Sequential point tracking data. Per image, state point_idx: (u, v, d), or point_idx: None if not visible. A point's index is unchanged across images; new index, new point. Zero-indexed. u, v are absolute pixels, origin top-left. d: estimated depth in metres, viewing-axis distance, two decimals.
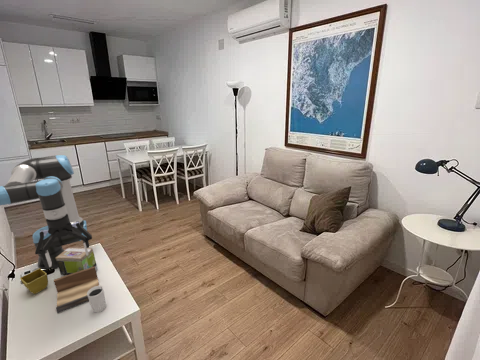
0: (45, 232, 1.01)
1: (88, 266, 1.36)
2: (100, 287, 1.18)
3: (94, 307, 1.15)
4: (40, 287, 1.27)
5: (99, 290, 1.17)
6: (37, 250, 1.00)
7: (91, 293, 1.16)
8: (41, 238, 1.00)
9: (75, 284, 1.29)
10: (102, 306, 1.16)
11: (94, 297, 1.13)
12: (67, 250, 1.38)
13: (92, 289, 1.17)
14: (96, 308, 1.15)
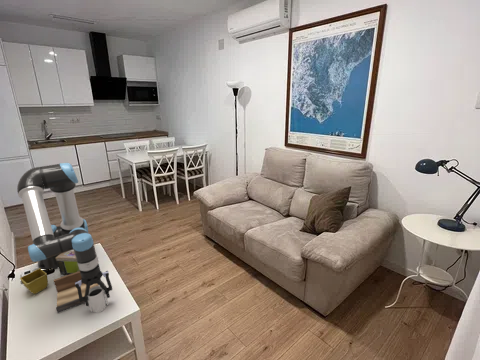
0: (79, 283, 1.10)
1: None
2: (100, 287, 1.18)
3: (94, 307, 1.15)
4: (40, 287, 1.27)
5: (99, 290, 1.17)
6: (80, 298, 1.11)
7: (91, 293, 1.16)
8: (78, 289, 1.10)
9: None
10: (102, 306, 1.16)
11: (94, 297, 1.13)
12: None
13: (92, 289, 1.17)
14: (96, 308, 1.15)
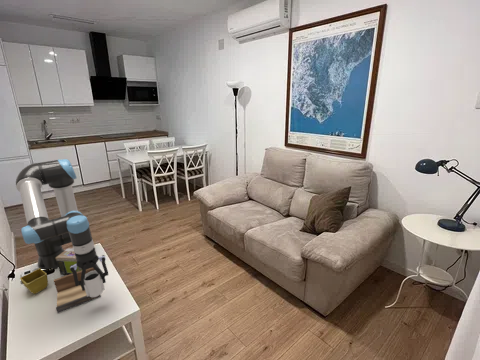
0: (75, 266, 1.07)
1: None
2: None
3: (90, 292, 1.12)
4: (40, 287, 1.27)
5: (95, 275, 1.15)
6: (76, 283, 1.09)
7: (87, 277, 1.13)
8: (74, 272, 1.07)
9: None
10: (99, 291, 1.14)
11: (91, 282, 1.10)
12: (67, 250, 1.38)
13: (88, 274, 1.14)
14: (92, 293, 1.12)
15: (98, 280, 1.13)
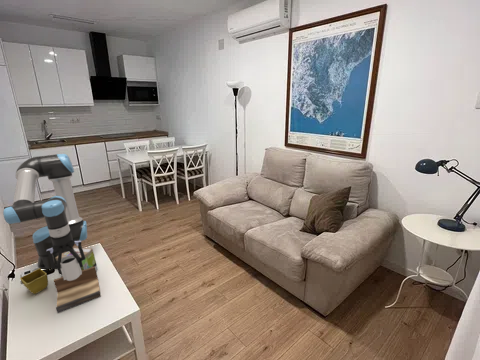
0: (51, 250, 1.11)
1: (88, 266, 1.36)
2: None
3: (67, 275, 1.15)
4: (39, 287, 1.27)
5: (72, 259, 1.18)
6: (52, 266, 1.12)
7: (64, 261, 1.16)
8: (50, 256, 1.11)
9: (75, 284, 1.29)
10: (75, 274, 1.17)
11: (67, 265, 1.14)
12: None
13: (65, 258, 1.18)
14: (69, 276, 1.16)
15: (74, 264, 1.16)
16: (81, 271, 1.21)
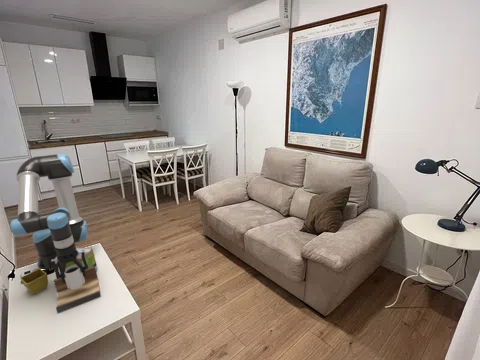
0: (55, 260, 1.16)
1: (88, 266, 1.36)
2: None
3: (71, 284, 1.20)
4: (40, 287, 1.27)
5: (76, 268, 1.23)
6: (57, 275, 1.17)
7: (68, 271, 1.21)
8: (55, 266, 1.16)
9: None
10: (79, 283, 1.22)
11: (71, 274, 1.18)
12: None
13: (69, 267, 1.23)
14: (72, 285, 1.21)
15: (78, 273, 1.21)
16: (84, 280, 1.26)
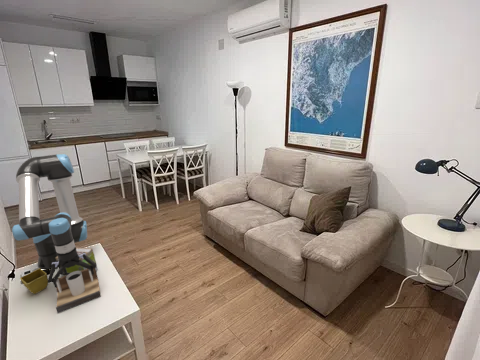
0: (56, 264, 1.17)
1: None
2: (79, 272, 1.25)
3: (73, 290, 1.22)
4: (40, 287, 1.27)
5: (78, 275, 1.24)
6: (49, 279, 1.16)
7: (70, 277, 1.23)
8: (53, 269, 1.16)
9: None
10: (81, 290, 1.24)
11: (73, 281, 1.20)
12: None
13: (71, 274, 1.24)
14: (74, 292, 1.22)
15: (80, 280, 1.22)
16: (92, 278, 1.28)
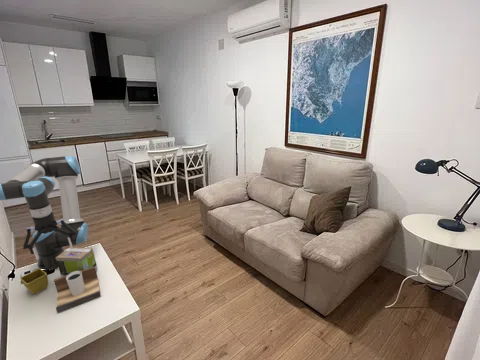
0: (32, 229, 1.11)
1: (88, 266, 1.36)
2: (79, 272, 1.25)
3: (73, 290, 1.22)
4: (40, 287, 1.27)
5: (78, 275, 1.24)
6: (25, 245, 1.11)
7: (70, 277, 1.23)
8: (28, 234, 1.11)
9: None
10: (81, 290, 1.24)
11: (73, 281, 1.20)
12: (67, 250, 1.38)
13: (71, 274, 1.24)
14: (74, 292, 1.22)
15: (80, 280, 1.22)
16: (72, 246, 1.24)
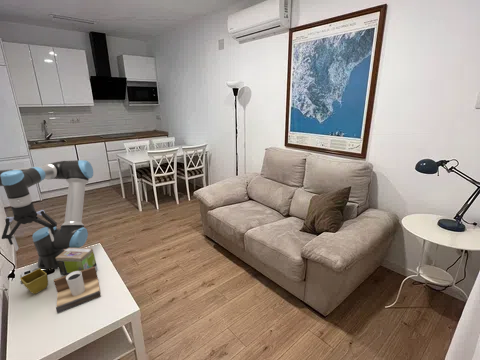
0: (11, 219, 1.11)
1: (88, 266, 1.36)
2: (79, 272, 1.25)
3: (73, 290, 1.22)
4: (40, 287, 1.27)
5: (78, 275, 1.24)
6: (3, 235, 1.10)
7: (70, 277, 1.23)
8: (7, 224, 1.10)
9: None
10: (81, 290, 1.24)
11: (73, 281, 1.20)
12: (67, 250, 1.38)
13: (71, 274, 1.24)
14: (74, 292, 1.22)
15: (80, 280, 1.22)
16: (53, 238, 1.22)
